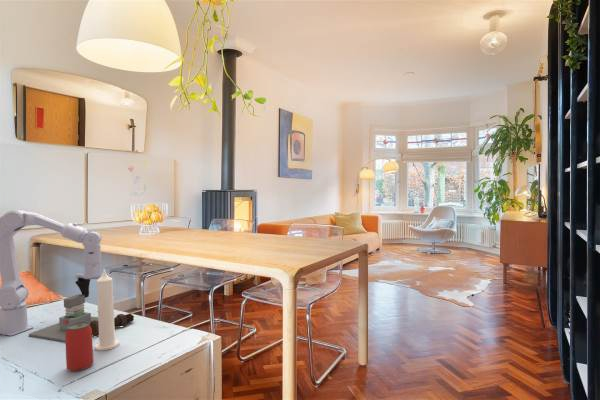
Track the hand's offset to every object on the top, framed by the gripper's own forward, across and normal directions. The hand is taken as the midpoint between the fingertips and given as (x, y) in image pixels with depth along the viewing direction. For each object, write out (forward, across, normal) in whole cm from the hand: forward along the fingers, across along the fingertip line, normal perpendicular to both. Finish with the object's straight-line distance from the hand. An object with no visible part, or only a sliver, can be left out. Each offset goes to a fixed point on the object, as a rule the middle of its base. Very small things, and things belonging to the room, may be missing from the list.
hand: (94, 297), depth 142 cm
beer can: (+9, +23, -33) cm, 42 cm away
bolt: (+10, +13, -6) cm, 17 cm away
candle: (+9, +21, -20) cm, 30 cm away
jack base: (+9, -1, -8) cm, 12 cm away
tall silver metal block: (+5, -1, -8) cm, 10 cm away
